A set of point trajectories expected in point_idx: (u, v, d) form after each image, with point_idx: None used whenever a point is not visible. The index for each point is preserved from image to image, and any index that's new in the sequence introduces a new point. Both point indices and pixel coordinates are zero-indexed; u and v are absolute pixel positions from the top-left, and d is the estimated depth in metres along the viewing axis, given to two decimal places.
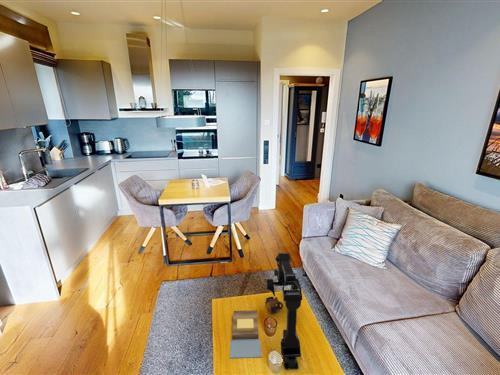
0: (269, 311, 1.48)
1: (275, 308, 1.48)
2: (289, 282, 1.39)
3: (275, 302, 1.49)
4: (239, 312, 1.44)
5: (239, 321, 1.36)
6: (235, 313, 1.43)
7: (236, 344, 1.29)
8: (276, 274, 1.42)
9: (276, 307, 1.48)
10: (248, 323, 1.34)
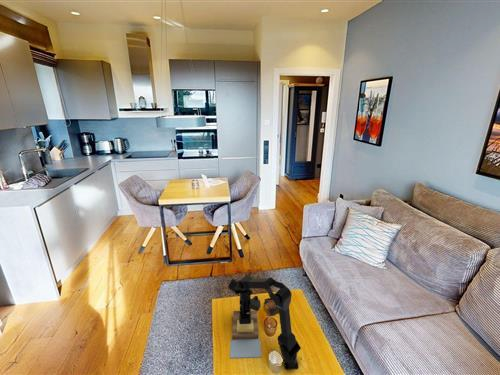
0: (268, 312, 1.47)
1: (274, 309, 1.47)
2: (244, 312, 1.31)
3: (274, 303, 1.48)
4: (239, 312, 1.44)
5: None
6: (235, 313, 1.43)
7: (236, 344, 1.29)
8: None
9: (275, 308, 1.47)
10: (248, 324, 1.34)
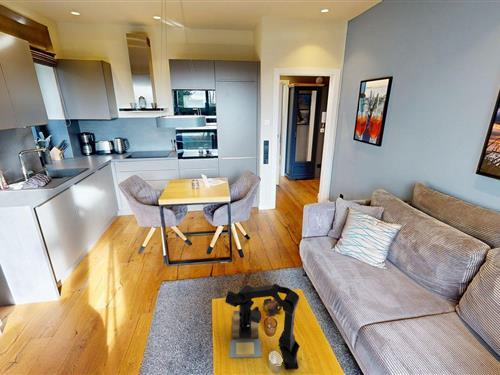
0: (267, 313, 1.46)
1: (273, 310, 1.46)
2: (244, 324, 1.24)
3: (273, 304, 1.47)
4: None
5: None
6: (235, 313, 1.43)
7: None
8: None
9: (274, 309, 1.46)
10: None
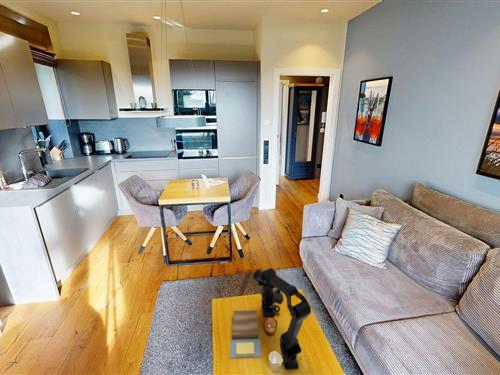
0: None
1: None
2: (267, 305, 1.26)
3: None
4: (239, 312, 1.44)
5: None
6: (235, 313, 1.43)
7: None
8: None
9: None
10: None
